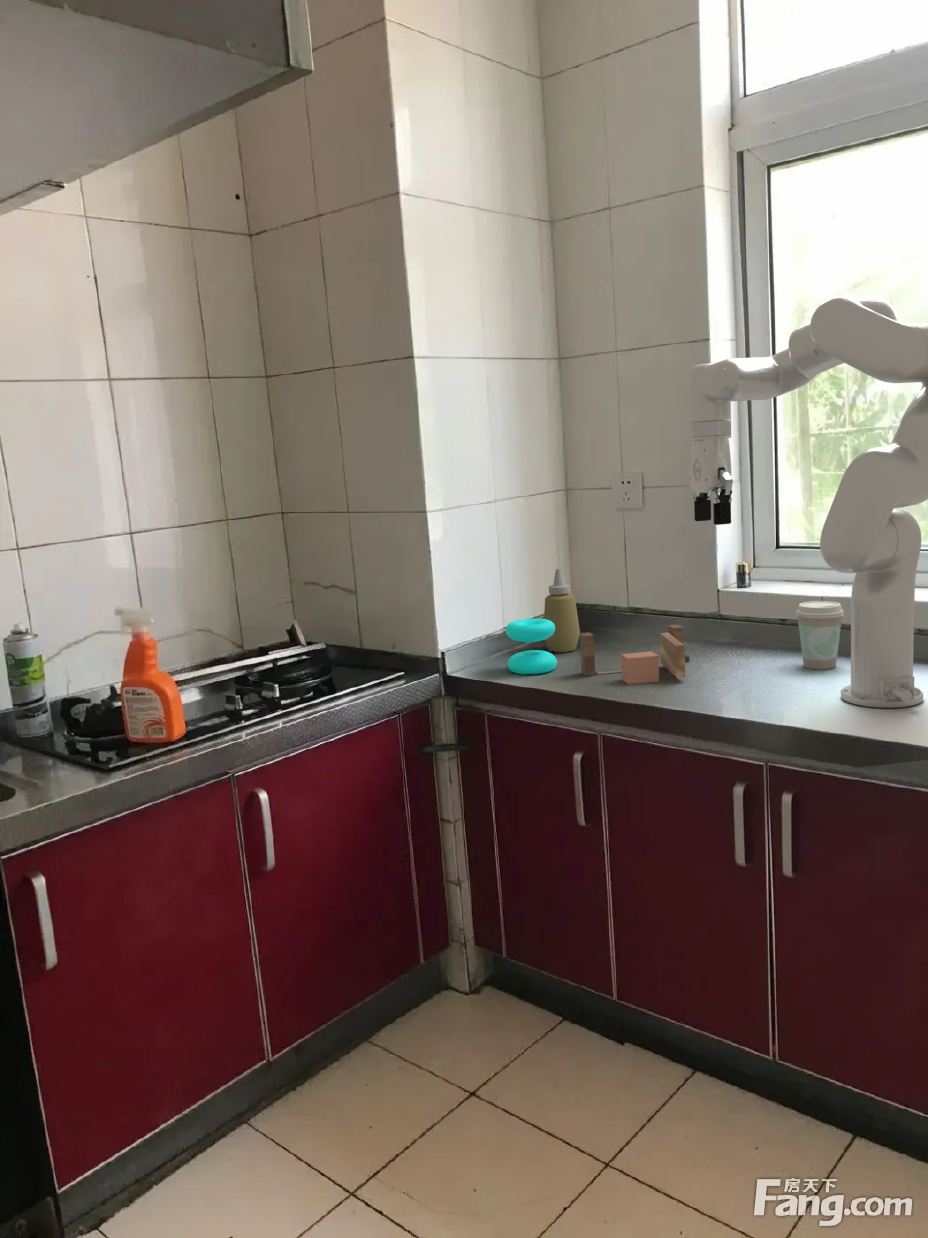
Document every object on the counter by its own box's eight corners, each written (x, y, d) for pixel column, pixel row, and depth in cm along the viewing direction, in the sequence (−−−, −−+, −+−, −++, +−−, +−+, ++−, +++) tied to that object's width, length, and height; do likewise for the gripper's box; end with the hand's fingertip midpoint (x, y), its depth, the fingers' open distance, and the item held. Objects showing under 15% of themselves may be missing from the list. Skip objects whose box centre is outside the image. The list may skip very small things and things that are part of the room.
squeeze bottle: (538, 649, 222) (534, 569, 218) (571, 644, 224) (568, 565, 221) (552, 655, 214) (548, 572, 211) (586, 651, 216) (583, 569, 213)
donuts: (539, 627, 193) (495, 625, 199) (541, 677, 195) (498, 673, 201) (563, 618, 202) (521, 616, 207) (566, 666, 203) (524, 663, 209)
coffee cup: (798, 671, 187) (797, 608, 185) (794, 661, 195) (794, 601, 193) (846, 671, 185) (846, 607, 183) (840, 661, 193) (840, 599, 191)
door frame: (683, 666, 196) (682, 627, 195) (585, 676, 194) (583, 636, 192) (678, 663, 199) (677, 624, 198) (581, 673, 197) (579, 633, 195)
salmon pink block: (659, 681, 186) (658, 655, 186) (628, 684, 186) (627, 658, 185) (652, 677, 190) (651, 651, 189) (621, 679, 190) (621, 654, 189)
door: (674, 661, 197) (674, 632, 196) (691, 676, 184) (691, 644, 183) (660, 663, 196) (659, 633, 195) (676, 677, 184) (675, 645, 183)
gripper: (675, 433, 195) (677, 520, 198) (708, 431, 178) (710, 527, 181) (712, 430, 195) (714, 518, 198) (748, 428, 179) (750, 524, 182)
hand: (712, 522), depth 190 cm, fingers open, 9 cm apart
